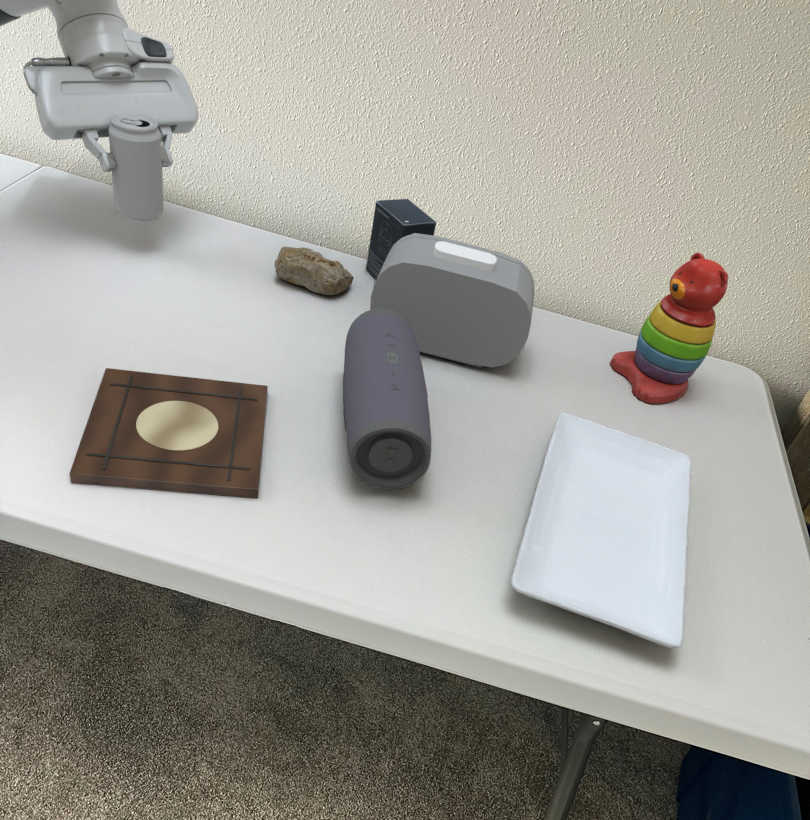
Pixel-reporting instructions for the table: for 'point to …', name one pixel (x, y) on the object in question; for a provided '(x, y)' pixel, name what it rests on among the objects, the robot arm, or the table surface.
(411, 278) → the grey rounded block
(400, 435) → the bluetooth speaker
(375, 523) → the table surface
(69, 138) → the robot arm
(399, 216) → the box
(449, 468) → the table surface
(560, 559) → the tray
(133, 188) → the beverage can
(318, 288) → the rock
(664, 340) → the stacking bear
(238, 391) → the board
